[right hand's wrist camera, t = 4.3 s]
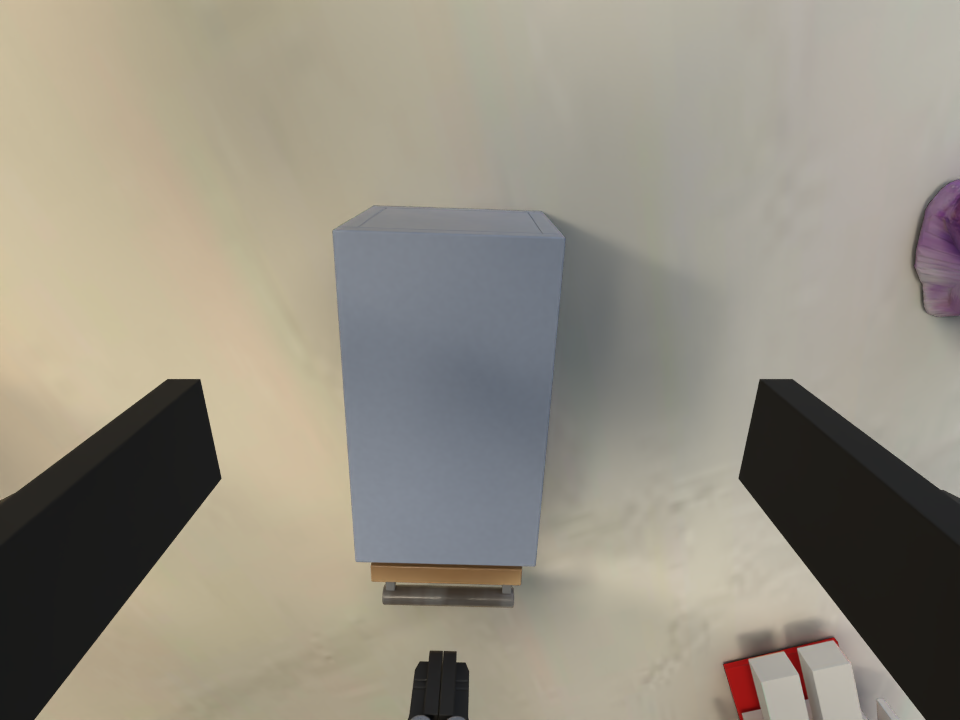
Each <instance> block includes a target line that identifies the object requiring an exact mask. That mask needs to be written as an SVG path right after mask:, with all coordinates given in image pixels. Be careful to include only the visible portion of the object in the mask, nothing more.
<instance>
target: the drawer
mask: <svg viewBox="0 0 960 720" xmlns="http://www.w3.org/2000/svg"><path fill="white" fill-rule="evenodd" d="M521 577H522V566H496V565H457V564H419V563H380V562H372V563H371V580H372V581H373V582H386V584H385V585H384V589H383V597H382V601H383V604H384V605H422V606H463V607H503V608H513V606H514V589H513V588H511V587H512V585H521ZM396 582H410V583H449V584H488V585H502V587H470V586H430V585H396Z"/></svg>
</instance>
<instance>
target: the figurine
mask: <svg viewBox="0 0 960 720" xmlns="http://www.w3.org/2000/svg"><path fill="white" fill-rule="evenodd" d="M914 267H915V269H916V271H917V274H918V277H919V279H920V282H922V284H923V287H922V288H923V292H924V294H923V298H924V300H923V303H924V307H925V310H926V312H927V313H928V314H930V315H933V316H936V317H939V316H940V317H944V316H960V180H955V181H953V182H951V183H949V184H947V185H946V186H945V187H943V188H942V189H941V190H940V191H939V192H938V193H937V195H936V196H935V197H934V198H933V199H932V200H931V201H930V203H929V204H928V206H927V208H926V210H925V216H924V220H923V223H922V227H921V231H920V235H919V239H918V244H917V248H916V260H915V264H914Z"/></svg>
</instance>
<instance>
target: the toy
mask: <svg viewBox="0 0 960 720" xmlns="http://www.w3.org/2000/svg"><path fill="white" fill-rule="evenodd" d="M723 665H724V669H725V672H726V675H727V679H728V682H729V685H730V688H731V692H732V695H733V698H734V702H735V705H736V708H737V712H738V715H739V718H740V720H868V719H867V717H866V716H865V714H864V713H863V712H862V710H861V709H860V704H859V699H858V694H857V689H856V684H855V679H854V674H853V669H852V664H851V662H850V661H849V660H848V658H847V657H846V656H845V654H844V653H843V652H842V651H841V649H840V648H839V645H838V642H837V640H836V639H835V638H834V637H833V638H829V639H825V640H821V641H817V642H813V643H809V644H805V645H801V646H797V647H792V648H788V649H784V650H780V651H776V652H772V653H768V654H764V655H760V656H756V657H752V658H748V659H743V660H739V661H735V662H731V663H727V664H723ZM876 700H877V716H878V720H900V719H899V718H898V716H897V715H896V714H895V712H894V711H893V710H892V708H891V707H890V706H889V704H888V703H887V702H886V700H885V699H884V698H881V699H876Z"/></svg>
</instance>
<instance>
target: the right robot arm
mask: <svg viewBox="0 0 960 720" xmlns="http://www.w3.org/2000/svg"><path fill="white" fill-rule="evenodd" d="M220 480H221V474H220V469H219V465H218V460H217V455H216V451H215V446H214V441H213V437H212V432H211V427H210V423H209V418H208V413H207V408H206V404H205V399H204V394H203V390H202V385H201V380H200V379H167V380H166V381H165V382H163V383H162V384H161V385H159V386H158V387H157V388H155V389H154V390H153V391H151V392H150V393H149V394H147V395H146V396H145V397H143V398H142V399H140V400H139V401H138V402H136V403H135V404H134V405H132V406H131V407H130V408H128V409H127V410H126V411H124V412H123V413H122V414H120V415H119V416H118V417H116V418H115V419H114V420H112V421H111V422H110V423H108V424H107V425H106V426H104V427H103V428H102V429H100V430H99V431H98V432H96V433H95V434H94V435H92V436H91V437H90V438H88V439H87V440H86V441H84V442H83V443H82V444H80V445H79V446H78V447H76V448H75V449H74V450H72V451H71V452H70V453H68V454H67V455H66V456H64V457H63V458H62V459H60V460H59V461H58V462H56V463H55V464H54V465H52V466H51V467H50V468H48V469H47V470H46V471H44V472H43V473H42V474H40V475H39V476H38V477H36V478H35V479H34V480H32V481H31V482H30V483H28V484H27V485H25V486H24V487H23V488H21V489H20V490H19V491H17V492H16V493H14V494H12V495H10V496H8V497H6V498H4V499H2V500H0V720H34V719H35V718H36V717H37V715H38V714H39V713H40V712H41V710H42V709H43V708H44V706H45V705H46V704H47V703H48V701H49V700H50V699H51V697H52V696H53V695H54V694H55V692H56V691H57V690H58V688H59V687H60V686H61V685H62V683H63V682H64V681H65V679H66V678H67V677H68V676H69V674H70V673H71V672H72V670H73V669H74V668H75V667H76V665H77V664H78V663H79V661H80V660H81V659H82V658H83V656H84V655H85V654H86V652H87V651H88V650H89V649H90V647H91V646H92V645H93V643H94V642H95V641H96V640H97V638H98V637H99V636H100V634H101V633H102V632H103V630H104V629H105V628H106V627H107V625H108V624H109V623H110V621H111V620H112V619H113V618H114V616H115V615H116V614H117V612H118V611H119V610H120V609H121V607H122V606H123V605H124V603H125V602H126V601H127V600H128V598H129V597H130V596H131V594H132V593H133V592H134V591H135V589H136V588H137V587H138V585H139V584H140V583H141V582H142V580H143V579H144V578H145V576H146V575H147V574H148V573H149V571H150V570H151V569H152V567H153V566H154V565H155V564H156V562H157V561H158V560H159V558H160V557H161V556H162V555H163V553H164V552H165V551H166V549H167V548H168V547H169V545H170V544H171V543H172V542H173V540H174V539H175V538H176V536H177V535H178V534H179V533H180V531H181V530H182V529H183V527H184V526H185V525H186V524H187V522H188V521H189V520H190V518H191V517H192V516H193V515H194V513H195V512H196V511H197V509H198V508H199V507H200V506H201V504H202V503H203V502H204V500H205V499H206V498H207V497H208V495H209V494H210V493H211V491H212V490H213V489H214V488H215V486H216V485H217V484H218V482H219V481H220ZM739 480H740V481H741V482H742V484H743V485H744V486H745V488H746V489H747V490H748V491H749V493H750V494H751V495H752V497H753V498H754V499H755V500H756V502H757V503H758V504H759V506H760V507H761V508H762V509H763V511H764V512H765V513H766V515H767V516H768V517H769V518H770V520H771V521H772V522H773V524H774V525H775V526H776V527H777V529H778V530H779V531H780V533H781V534H782V535H783V536H784V538H785V539H786V540H787V542H788V543H789V544H790V545H791V547H792V548H793V549H794V551H795V552H796V553H797V555H798V556H799V557H800V558H801V560H802V561H803V562H804V564H805V565H806V566H807V567H808V569H809V570H810V571H811V573H812V574H813V575H814V576H815V578H816V579H817V580H818V582H819V583H820V584H821V585H822V587H823V588H824V589H825V591H826V592H827V593H828V594H829V596H830V597H831V598H832V600H833V601H834V602H835V603H836V605H837V606H838V607H839V609H840V610H841V611H842V612H843V614H844V615H845V616H846V618H847V619H848V620H849V621H850V623H851V624H852V625H853V627H854V628H855V629H856V630H857V632H858V633H859V634H860V636H861V637H862V638H863V640H864V641H865V642H866V643H867V645H868V646H869V647H870V649H871V650H872V651H873V652H874V654H875V655H876V656H877V658H878V659H879V660H880V661H881V663H882V664H883V665H884V667H885V668H886V669H887V670H888V672H889V673H890V674H891V676H892V677H893V678H894V679H895V681H896V682H897V683H898V685H899V686H900V687H901V688H902V690H903V691H904V692H905V694H906V695H907V696H908V697H909V699H910V700H911V701H912V703H913V704H914V705H915V706H916V708H917V709H918V710H919V712H920V713H921V714H922V716H923V717H924V718H925V719H926V720H960V498H958V497H956V496H954V495H952V494H950V493H948V492H946V491H944V490H940V489H939V488H937V487H936V486H935V485H933V484H932V483H930V482H929V481H928V480H926V479H925V478H924V477H922V476H921V475H920V474H918V473H917V472H916V471H914V470H913V469H912V468H910V467H909V466H908V465H906V464H905V463H904V462H902V461H901V460H900V459H898V458H897V457H896V456H894V455H893V454H892V453H890V452H889V451H888V450H886V449H885V448H884V447H882V446H881V445H880V444H878V443H877V442H876V441H874V440H873V439H872V438H870V437H869V436H868V435H866V434H865V433H864V432H862V431H861V430H860V429H858V428H857V427H856V426H854V425H853V424H852V423H850V422H849V421H848V420H846V419H845V418H844V417H842V416H841V415H840V414H838V413H837V412H836V411H834V410H833V409H832V408H830V407H829V406H828V405H826V404H825V403H824V402H822V401H821V400H820V399H818V398H817V397H815V396H814V395H813V394H811V393H810V392H809V391H807V390H806V389H805V388H803V387H802V386H801V385H799V384H798V383H797V382H795V381H794V380H793V379H760V380H759V385H758V390H757V394H756V399H755V404H754V408H753V413H752V418H751V423H750V427H749V432H748V437H747V441H746V446H745V451H744V455H743V460H742V465H741V469H740V474H739Z"/></svg>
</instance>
